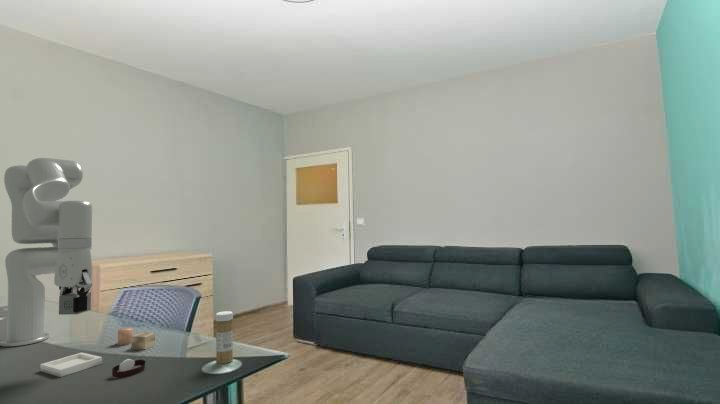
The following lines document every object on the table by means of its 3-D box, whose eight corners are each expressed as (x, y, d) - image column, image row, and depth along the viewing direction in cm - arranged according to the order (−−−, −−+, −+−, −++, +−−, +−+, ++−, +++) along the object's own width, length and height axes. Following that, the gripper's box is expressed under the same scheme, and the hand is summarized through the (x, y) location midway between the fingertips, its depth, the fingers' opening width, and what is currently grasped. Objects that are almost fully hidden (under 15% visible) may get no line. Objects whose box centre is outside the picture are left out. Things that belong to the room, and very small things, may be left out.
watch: (141, 367, 102) (141, 353, 102) (148, 371, 99) (148, 357, 99) (109, 376, 96) (109, 362, 96) (115, 381, 93) (115, 366, 93)
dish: (40, 371, 100) (40, 364, 100) (81, 358, 109) (81, 352, 109) (60, 377, 96) (60, 370, 96) (101, 363, 105) (102, 357, 105)
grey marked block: (90, 310, 106) (91, 292, 107) (76, 314, 101) (77, 295, 102) (73, 310, 106) (73, 292, 107) (58, 314, 101) (59, 295, 102)
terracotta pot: (114, 344, 122) (114, 330, 123) (127, 340, 126) (128, 326, 127) (122, 345, 120) (122, 331, 121) (136, 341, 124) (136, 328, 125)
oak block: (131, 349, 117) (131, 336, 117) (141, 345, 121) (141, 332, 121) (145, 350, 116) (145, 336, 116) (154, 345, 120) (154, 333, 120)
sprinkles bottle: (231, 357, 107) (231, 309, 108) (234, 362, 103) (233, 313, 104) (214, 360, 105) (214, 311, 106) (216, 365, 101) (216, 315, 102)
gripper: (42, 245, 105) (41, 311, 104) (77, 246, 97) (75, 316, 96) (73, 244, 112) (71, 305, 111) (107, 244, 104) (106, 310, 103)
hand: (73, 309), depth 104 cm, fingers closed on grey marked block, 5 cm apart
